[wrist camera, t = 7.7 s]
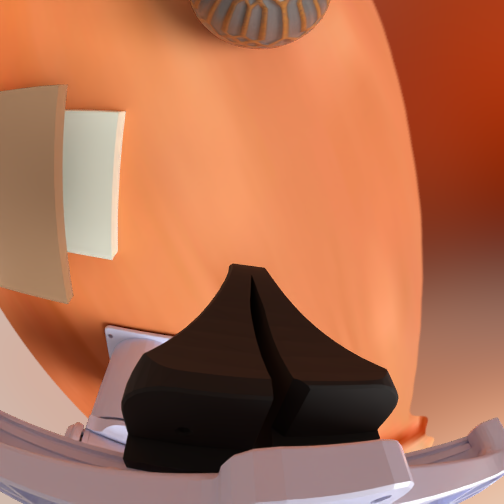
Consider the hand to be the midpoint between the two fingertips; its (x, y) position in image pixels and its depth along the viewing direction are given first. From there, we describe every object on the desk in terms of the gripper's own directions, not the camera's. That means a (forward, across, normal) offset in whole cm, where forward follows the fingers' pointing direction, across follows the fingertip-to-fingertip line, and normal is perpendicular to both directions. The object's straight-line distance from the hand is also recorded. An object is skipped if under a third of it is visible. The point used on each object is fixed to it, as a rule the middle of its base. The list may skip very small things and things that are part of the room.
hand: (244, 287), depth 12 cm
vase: (+10, +1, -13) cm, 16 cm away
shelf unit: (+9, +15, 0) cm, 18 cm away
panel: (+10, +13, 0) cm, 16 cm away
